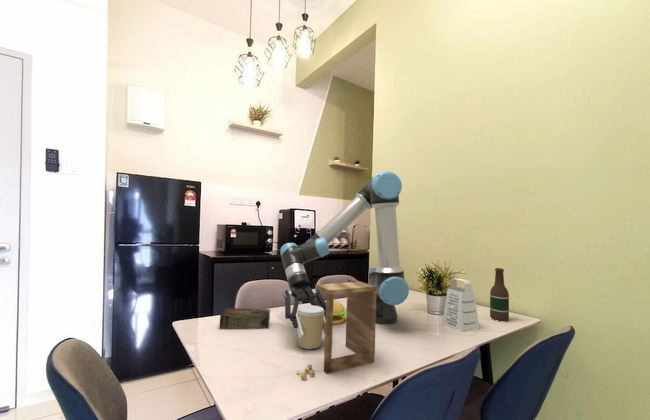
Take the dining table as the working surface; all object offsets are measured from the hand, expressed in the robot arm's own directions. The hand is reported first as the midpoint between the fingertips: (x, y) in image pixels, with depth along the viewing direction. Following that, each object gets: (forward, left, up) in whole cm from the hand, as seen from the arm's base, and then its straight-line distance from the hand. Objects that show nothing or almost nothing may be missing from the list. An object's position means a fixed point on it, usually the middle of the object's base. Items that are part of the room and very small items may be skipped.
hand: (314, 334), depth 100 cm
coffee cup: (0, -3, -4) cm, 6 cm away
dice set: (+10, +14, -6) cm, 18 cm away
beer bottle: (-96, +5, -5) cm, 97 cm away
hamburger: (-21, -24, -5) cm, 32 cm away
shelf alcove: (-4, +9, -5) cm, 11 cm away
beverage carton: (+15, -32, -5) cm, 35 cm away
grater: (-69, +4, -5) cm, 69 cm away
